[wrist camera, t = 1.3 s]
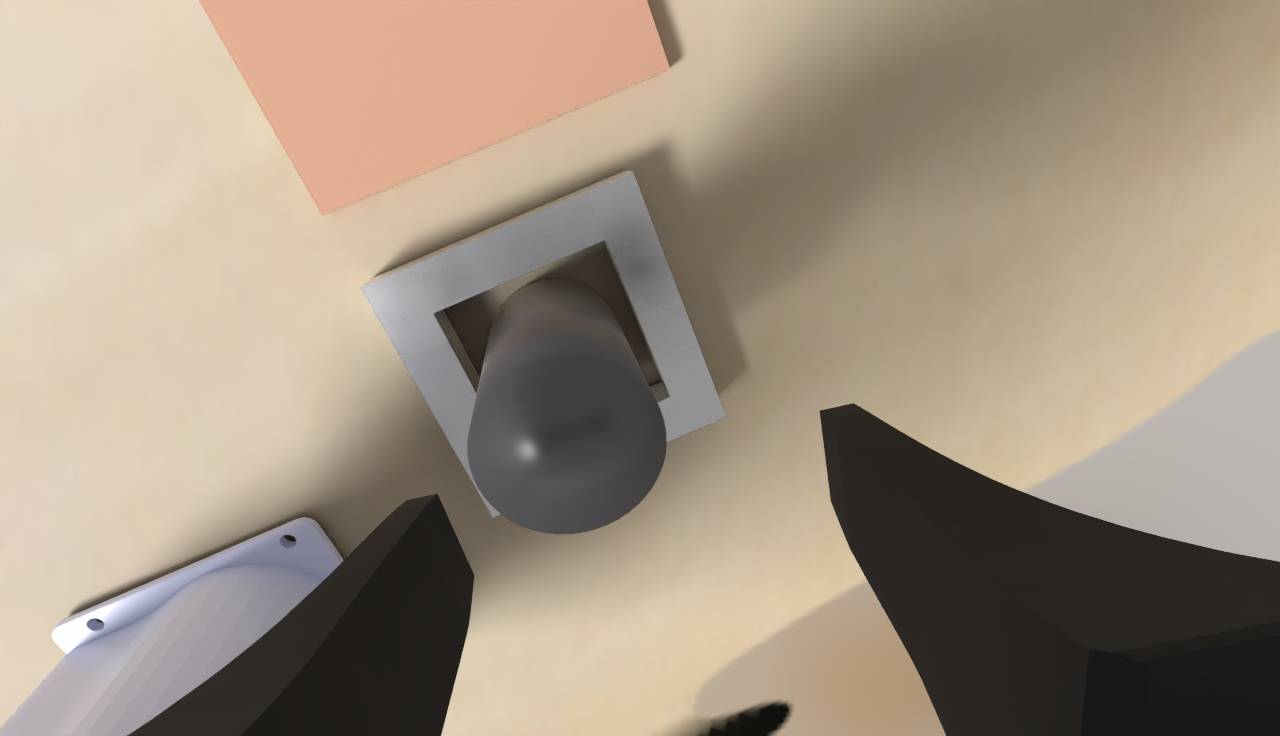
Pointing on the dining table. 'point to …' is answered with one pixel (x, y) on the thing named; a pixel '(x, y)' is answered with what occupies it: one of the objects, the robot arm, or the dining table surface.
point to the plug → (563, 413)
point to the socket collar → (522, 246)
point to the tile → (424, 77)
